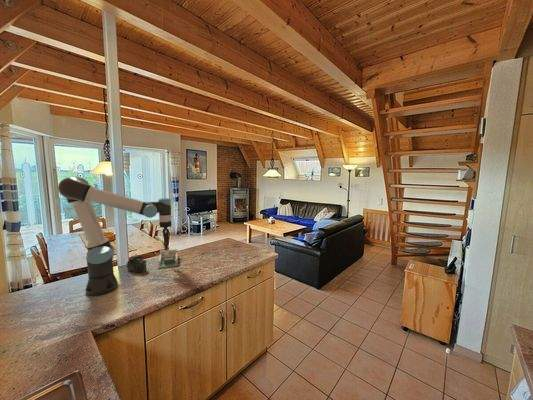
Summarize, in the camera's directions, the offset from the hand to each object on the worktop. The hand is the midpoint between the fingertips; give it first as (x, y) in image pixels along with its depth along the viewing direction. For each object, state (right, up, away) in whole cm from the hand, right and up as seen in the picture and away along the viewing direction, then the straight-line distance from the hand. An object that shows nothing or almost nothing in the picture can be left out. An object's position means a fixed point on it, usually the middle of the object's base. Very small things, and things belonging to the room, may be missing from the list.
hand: (166, 251), depth 161 cm
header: (-3, -11, +12) cm, 16 cm away
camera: (-19, -13, -2) cm, 23 cm away
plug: (-2, -10, +9) cm, 14 cm away
